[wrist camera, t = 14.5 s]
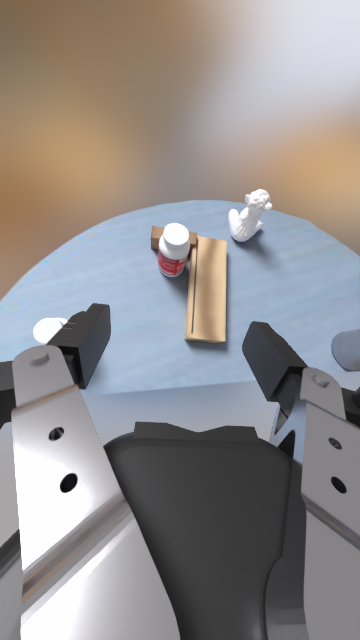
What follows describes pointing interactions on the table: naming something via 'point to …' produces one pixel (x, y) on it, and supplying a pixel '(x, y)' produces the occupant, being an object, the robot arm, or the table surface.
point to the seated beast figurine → (249, 216)
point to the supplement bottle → (47, 329)
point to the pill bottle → (173, 250)
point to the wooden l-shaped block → (204, 287)
